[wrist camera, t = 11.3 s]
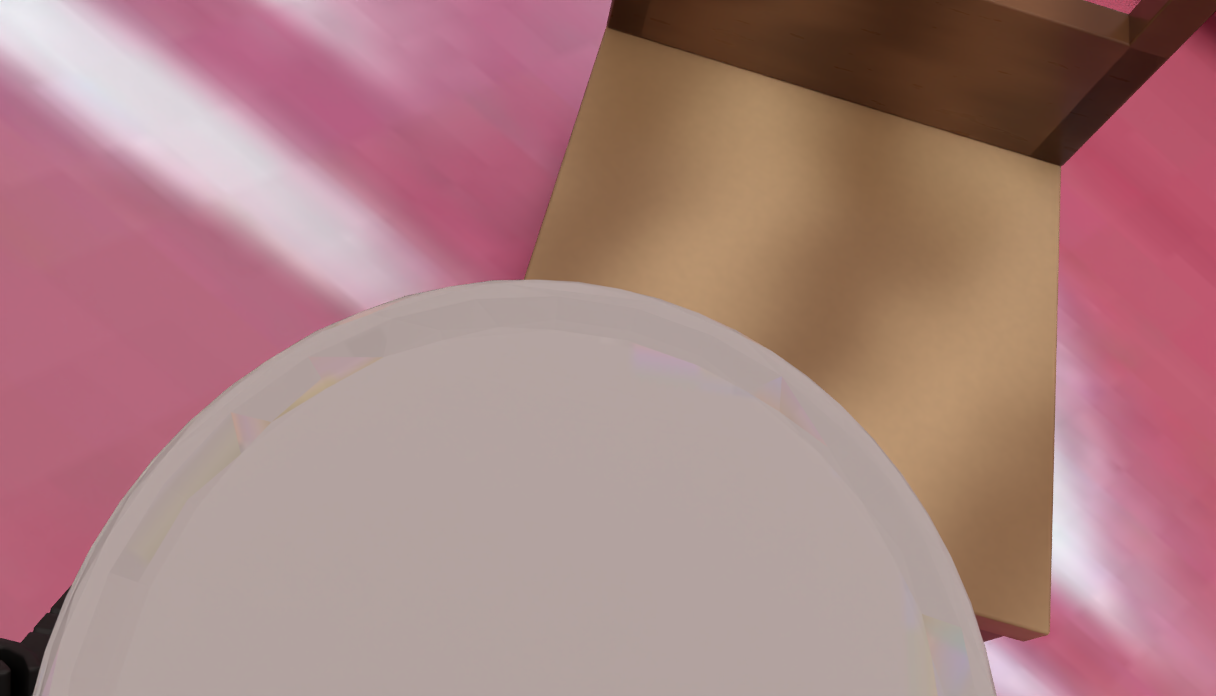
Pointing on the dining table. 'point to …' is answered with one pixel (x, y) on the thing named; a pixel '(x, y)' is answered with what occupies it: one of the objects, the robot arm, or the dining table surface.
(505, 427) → the coffee cup
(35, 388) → the dining table surface
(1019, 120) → the wooden chair
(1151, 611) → the dining table surface
